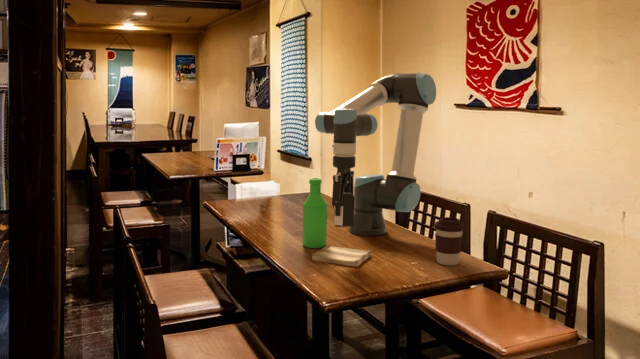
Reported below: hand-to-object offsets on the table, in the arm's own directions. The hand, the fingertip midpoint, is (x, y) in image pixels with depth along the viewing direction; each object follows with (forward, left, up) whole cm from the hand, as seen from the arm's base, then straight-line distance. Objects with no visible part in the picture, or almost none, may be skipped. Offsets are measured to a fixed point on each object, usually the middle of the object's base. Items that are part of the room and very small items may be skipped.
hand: (342, 222), depth 195 cm
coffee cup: (-11, +34, -13) cm, 38 cm away
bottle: (-10, -15, -13) cm, 22 cm away
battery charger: (0, 0, -1) cm, 1 cm away
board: (0, 0, -12) cm, 12 cm away
